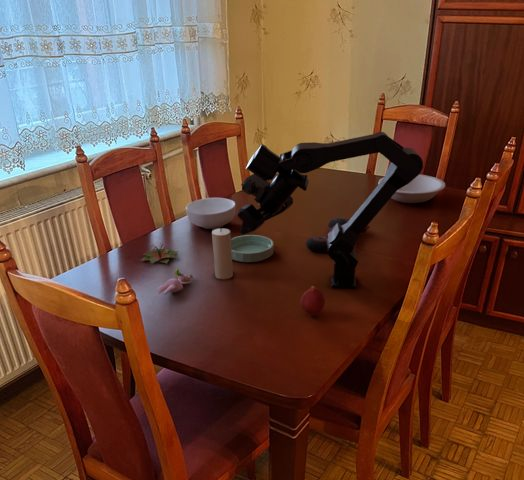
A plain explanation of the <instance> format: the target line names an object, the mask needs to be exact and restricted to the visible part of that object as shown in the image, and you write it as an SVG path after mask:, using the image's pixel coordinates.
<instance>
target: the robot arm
mask: <svg viewBox="0 0 524 480" xmlns="http://www.w3.org/2000/svg"><path fill="white" fill-rule="evenodd" d="M372 154H373V155H374V154H380V155H382V156H383V157H384V158H385V159H387V161H389V162H390V163H389V164H388V168H387V170H386V173H385V175H384V176H383V177H384V179H383V180H382V181H381V182H380V183H379V184H378V185H376V187H375V188H374V189H373V191H372V192H371V193H370V194H369V195H368V197H367V198H366V199H365V200H364V201H363V203H362V204H361V205H360V206H359V208H358V209H357V210H356V211H355V212H354V214H353V215H352V216H351V217H350V219H349V221H348V222H347V223H346V224H344V225H342V226H340V225H339V224H338V223H337V224H336V225H335V227H334V229H333V230H332V231H331V232H330V233H328V232H327V236H328V238H327V237H326V238H327V249H328V251H327V254H328V256H329V258H330V259H331V260H332V261H333V275H331V288H334V289H335V288H337V289H338V288H339V289H340V288H341V289H356V288H357V280H356V268H357V266H358V263H359V260H358V257H357V252H356V250H355V249H356V248H354V247H355V246H356V244H357V241H358V240H359V237H360V235H361V234H362V233H361V232H362V231H363V230H364V229H365V228H366V227H367V226H369V225H370V223H371V222H372V221H373V220H374V218H375V217H376V216H377V215H379V213H380V211H382V209H383V208H384V207H385V206H386V204H387V203H388V202H389V201H390V200H391V199H392V198H391V197H392V196H393V195H394V194H395V192H396V191H397V190H399V189H400V188H402V187H404V186H405V185H407V184H409V183H410V182H411V181H412V180H413V179H415V178H416V177H417V176H418V175H419V174H420V175H421V173H422V171H423V169H424V161H423V159H422V157H421V155H420V154H419V153H418V152H417V151H416V150H415V149H414V148H412V147H404V146H403V145H401V144H400V143H398V142H397V141H395V140H394V139H393V138H391V137H390V136H388V134H387V133H386V132H384V131H377V132H375V133H371V134H368V135H362V136H358V137H357V136H356V137H352V138H349V139H348V138H347V139H343V140H337V141H333V142H329V143H328V142H323V143H322V142H316V141H315V142H300V143H297V144H296V145H295V146H294V147H293V148H292V150H289V151H286V152H283V153H280V154H277V153H275V152H273V151H272V150H270V149H269V148H268V147H267V146H266V145H264V144H263V143H261V144H260V146H259V148H257V150H256V151H255V152H254V153H253V154H252V156H251V158H250V159H249V161H248V163H247V165H246V167H245V170H247V171H249V172H250V173H251V174H250V175H249V176H247V177H245V179H244V180H243V182H242V183H241V184H240V185H241V190H242V192H243V193H245V194H247V195H249V196H250V195H251V196H253V197H255V198H254V201H255V202H256V203H257V204H258V206H259V208H258V209H257V208H256V207H255V205H253V204H252V203H247V204H245V205H244V206H242V207H240V209H238V211H237V213H236V215H237V217H238V218H239V219H240V220H241V225H240V229H239V233H240V234H241V236H243V235H247V234H249V233H252V232H255V231H257V230H258V229H260V228H261V227H262V226H263V225H264V223H265V222H267V221H268V220H271V219H272V218H275V217H277V216H278V215H280V214H283V213H284V212H285V211H287V210H288V209H290V208H291V207H292V205H293V204H294V199H293V197H292V195H293V194H294V192H295V191H296V190H297V189H298V188H299V189H301V190H302V191H304V192H305V191H307V188H308V187H309V186H308V185H309V182H310V181H309V178H308V175H307V173H310V172H313V171H316V170H318V169H320V168H322V167H323V166H326V165H327V164H330V163H332V162H338V161H343V160H348V159H352V158H357V157H358V158H359V157H363V156H367V155H372ZM269 181H271V182H269Z"/></svg>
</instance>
